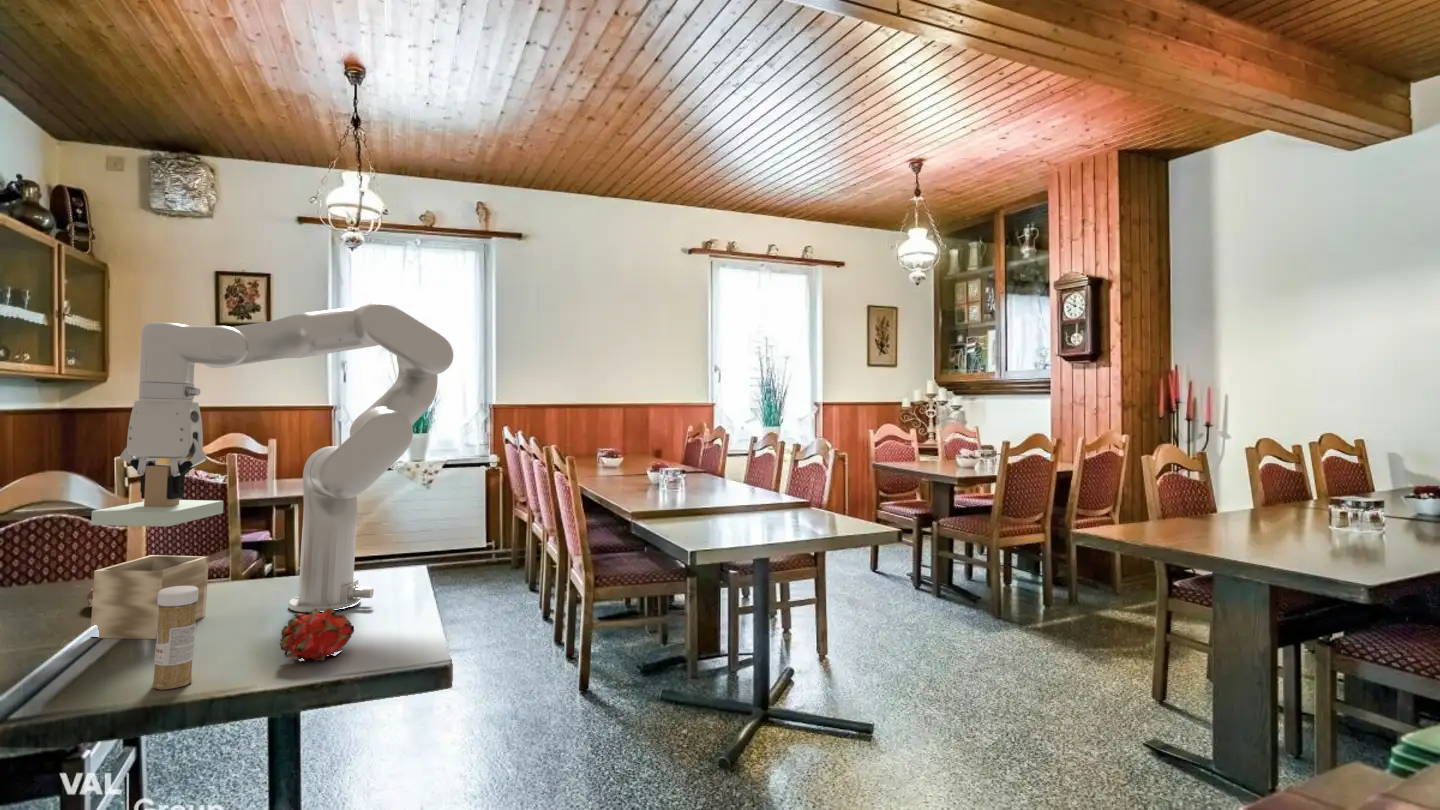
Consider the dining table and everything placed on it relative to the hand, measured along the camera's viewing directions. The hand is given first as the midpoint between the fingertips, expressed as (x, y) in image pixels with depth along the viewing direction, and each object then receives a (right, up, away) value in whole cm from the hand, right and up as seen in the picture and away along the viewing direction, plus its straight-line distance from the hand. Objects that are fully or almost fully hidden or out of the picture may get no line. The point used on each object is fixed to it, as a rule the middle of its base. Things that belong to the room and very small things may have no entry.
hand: (162, 497), depth 124 cm
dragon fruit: (+34, -24, -11) cm, 43 cm away
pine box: (-1, -22, -1) cm, 23 cm away
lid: (0, -4, 0) cm, 4 cm away
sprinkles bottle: (+21, -23, -25) cm, 40 cm away
